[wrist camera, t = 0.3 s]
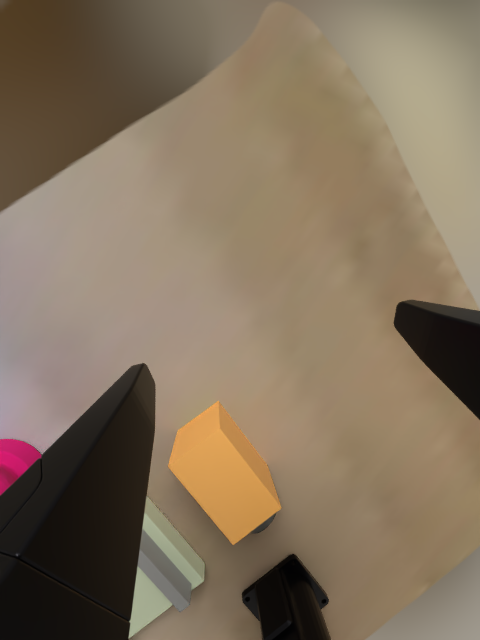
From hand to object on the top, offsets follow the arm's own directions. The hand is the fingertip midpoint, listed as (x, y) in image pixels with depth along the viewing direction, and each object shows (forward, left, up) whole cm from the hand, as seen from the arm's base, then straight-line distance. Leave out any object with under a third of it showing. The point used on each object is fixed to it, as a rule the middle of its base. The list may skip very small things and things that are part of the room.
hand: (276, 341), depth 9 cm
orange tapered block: (-9, +8, -14) cm, 18 cm away
